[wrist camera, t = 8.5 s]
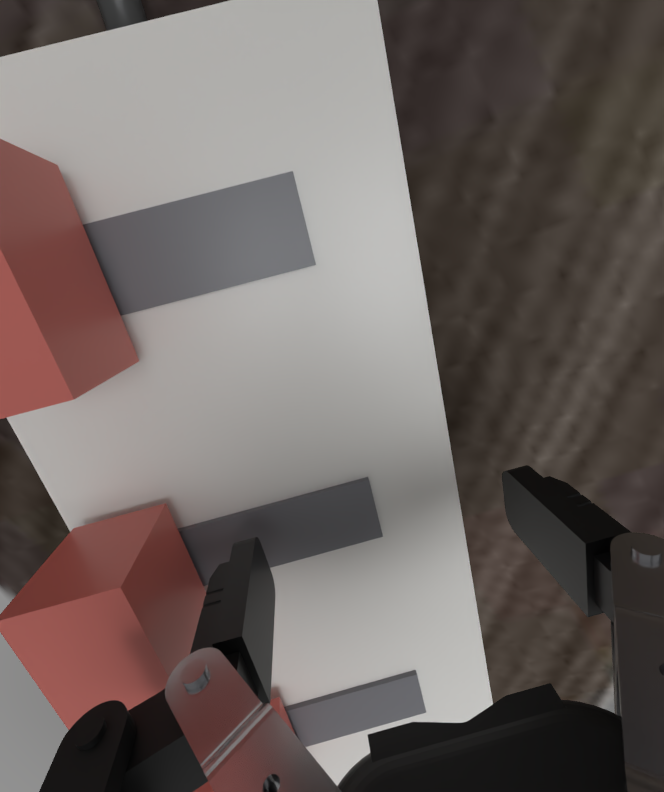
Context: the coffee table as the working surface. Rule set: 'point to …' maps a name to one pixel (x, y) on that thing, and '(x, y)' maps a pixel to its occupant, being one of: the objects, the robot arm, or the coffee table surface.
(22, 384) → the toggle
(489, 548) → the coffee table surface
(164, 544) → the toggle
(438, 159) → the coffee table surface
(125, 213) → the slider control panel
